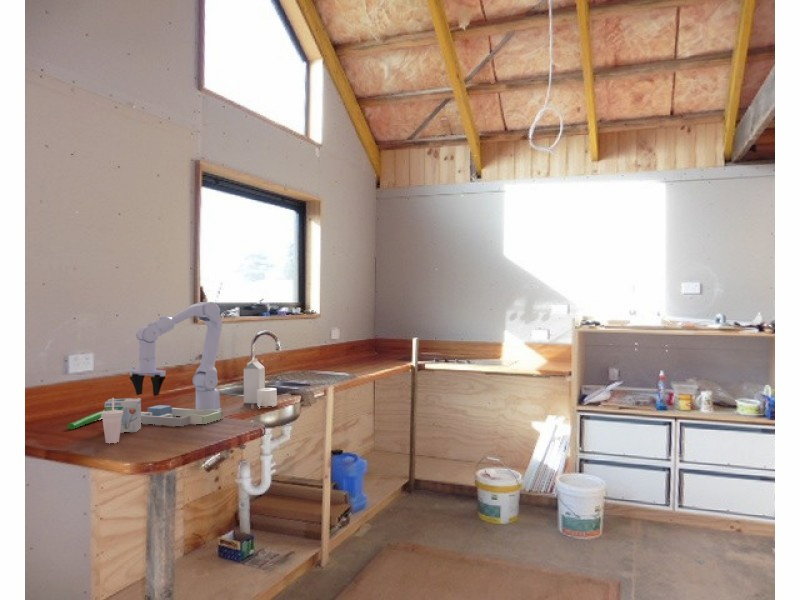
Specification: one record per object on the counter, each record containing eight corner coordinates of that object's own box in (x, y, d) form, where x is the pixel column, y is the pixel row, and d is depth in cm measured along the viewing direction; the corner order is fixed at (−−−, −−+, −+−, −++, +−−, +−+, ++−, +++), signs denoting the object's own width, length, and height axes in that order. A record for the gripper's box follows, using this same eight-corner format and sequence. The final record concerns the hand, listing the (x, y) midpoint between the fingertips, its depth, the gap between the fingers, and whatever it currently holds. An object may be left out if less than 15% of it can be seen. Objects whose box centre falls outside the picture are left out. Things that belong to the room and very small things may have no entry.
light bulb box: (103, 434, 195) (103, 402, 195) (108, 430, 202) (108, 398, 202) (138, 432, 198) (138, 400, 198) (141, 428, 205) (141, 397, 205)
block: (158, 416, 225) (158, 405, 225) (171, 417, 223) (171, 405, 223) (147, 419, 220) (147, 407, 220) (160, 420, 218) (160, 408, 218)
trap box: (159, 414, 228) (159, 406, 228) (222, 419, 219) (222, 410, 219) (128, 422, 213) (128, 413, 213) (195, 428, 204) (195, 418, 204)
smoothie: (127, 439, 187) (126, 396, 187) (118, 444, 181) (117, 399, 181) (106, 440, 187) (106, 396, 187) (97, 445, 181) (96, 400, 181)
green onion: (76, 432, 202) (125, 411, 232) (76, 423, 202) (125, 403, 232) (63, 432, 203) (114, 411, 233) (62, 423, 203) (113, 403, 232)
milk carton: (265, 401, 258) (264, 358, 258) (259, 403, 251) (259, 359, 251) (249, 400, 259) (249, 358, 259) (243, 403, 252) (243, 359, 252)
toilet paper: (259, 409, 239) (259, 392, 239) (256, 404, 250) (256, 388, 250) (279, 407, 242) (279, 391, 242) (275, 403, 253) (275, 387, 253)
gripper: (123, 359, 215) (123, 395, 215) (156, 360, 210) (156, 397, 210) (137, 357, 221) (137, 392, 221) (169, 358, 217) (169, 394, 217)
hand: (147, 395), depth 216 cm, fingers open, 7 cm apart
